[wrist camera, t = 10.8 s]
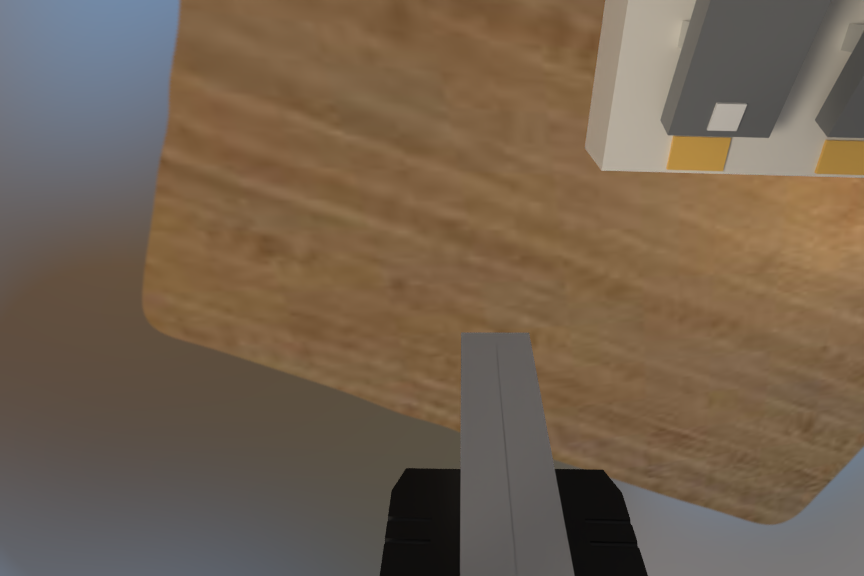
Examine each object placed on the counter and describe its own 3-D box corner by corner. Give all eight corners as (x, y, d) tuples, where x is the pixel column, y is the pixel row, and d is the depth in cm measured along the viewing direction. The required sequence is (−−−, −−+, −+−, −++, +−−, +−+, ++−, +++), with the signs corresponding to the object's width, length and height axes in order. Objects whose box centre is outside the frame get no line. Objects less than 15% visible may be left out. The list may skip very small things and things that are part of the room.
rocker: (720, -81, 24) (734, -71, 22) (844, -80, 24) (865, -69, 22) (660, 119, 30) (668, 136, 29) (757, 122, 30) (770, 139, 29)
